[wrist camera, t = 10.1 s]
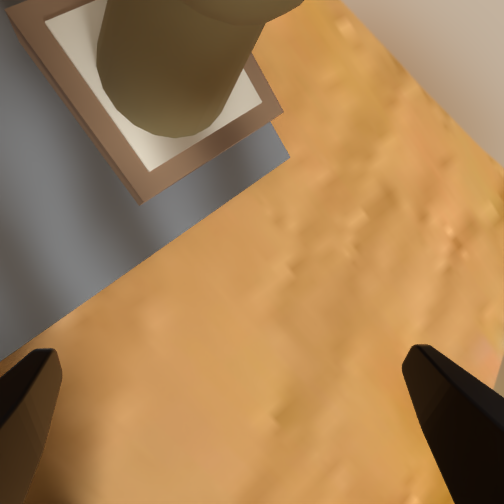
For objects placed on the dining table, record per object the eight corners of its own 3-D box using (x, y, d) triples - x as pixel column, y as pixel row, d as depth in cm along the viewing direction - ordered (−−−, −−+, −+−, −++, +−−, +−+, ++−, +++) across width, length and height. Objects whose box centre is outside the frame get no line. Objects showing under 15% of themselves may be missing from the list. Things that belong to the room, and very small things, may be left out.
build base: (3, 357, 16) (-20, 384, 13) (-268, 87, 13) (-382, 42, 10) (286, 159, 22) (314, 147, 19) (157, -70, 18) (166, -129, 15)
